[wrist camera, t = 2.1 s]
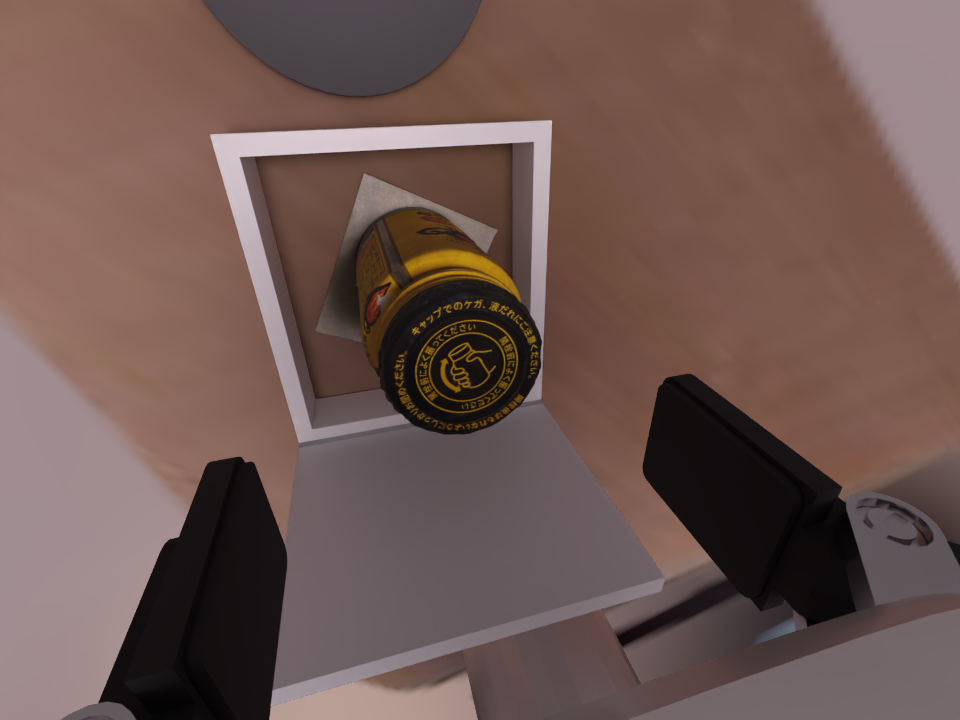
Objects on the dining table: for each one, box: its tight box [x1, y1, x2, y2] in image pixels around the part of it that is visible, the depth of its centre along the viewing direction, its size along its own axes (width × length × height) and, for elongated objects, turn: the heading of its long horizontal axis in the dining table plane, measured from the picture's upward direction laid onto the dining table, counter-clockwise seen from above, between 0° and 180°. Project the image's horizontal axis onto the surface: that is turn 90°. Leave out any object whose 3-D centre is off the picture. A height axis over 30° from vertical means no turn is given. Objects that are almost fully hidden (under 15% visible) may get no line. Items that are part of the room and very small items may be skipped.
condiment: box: [315, 173, 542, 435], centre depth 19 cm, size 7×8×12 cm
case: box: [210, 120, 665, 706], centre depth 18 cm, size 16×14×15 cm
